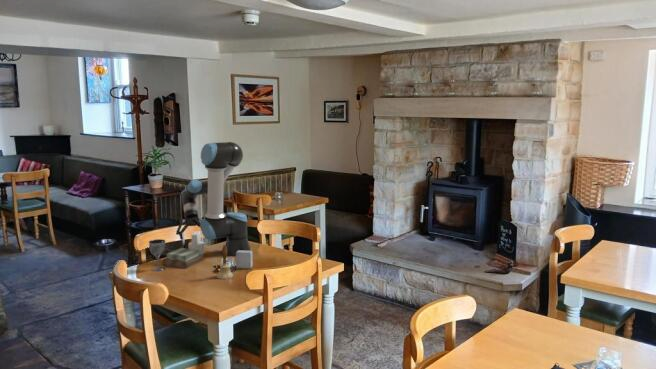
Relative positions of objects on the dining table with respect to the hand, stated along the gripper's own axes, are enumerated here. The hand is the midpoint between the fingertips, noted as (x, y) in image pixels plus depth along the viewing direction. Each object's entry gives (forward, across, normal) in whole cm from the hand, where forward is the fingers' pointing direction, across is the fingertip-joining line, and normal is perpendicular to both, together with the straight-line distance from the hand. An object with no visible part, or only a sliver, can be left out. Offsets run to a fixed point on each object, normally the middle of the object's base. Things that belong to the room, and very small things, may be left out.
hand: (196, 242), depth 292 cm
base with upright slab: (+4, 0, -4) cm, 6 cm away
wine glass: (+20, +23, +11) cm, 33 cm away
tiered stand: (+15, +10, +7) cm, 19 cm away
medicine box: (+30, -19, +22) cm, 42 cm away
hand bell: (+38, -6, +28) cm, 47 cm away
